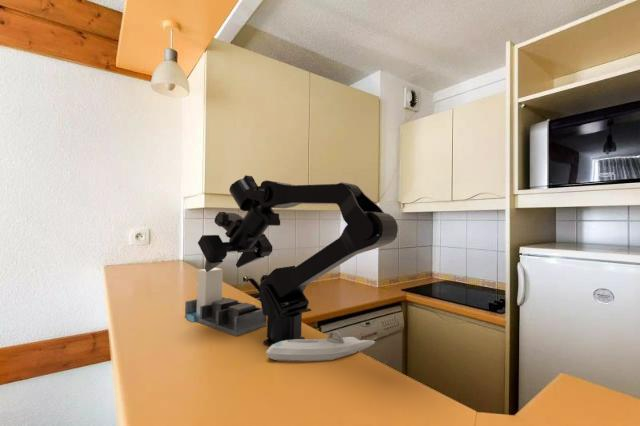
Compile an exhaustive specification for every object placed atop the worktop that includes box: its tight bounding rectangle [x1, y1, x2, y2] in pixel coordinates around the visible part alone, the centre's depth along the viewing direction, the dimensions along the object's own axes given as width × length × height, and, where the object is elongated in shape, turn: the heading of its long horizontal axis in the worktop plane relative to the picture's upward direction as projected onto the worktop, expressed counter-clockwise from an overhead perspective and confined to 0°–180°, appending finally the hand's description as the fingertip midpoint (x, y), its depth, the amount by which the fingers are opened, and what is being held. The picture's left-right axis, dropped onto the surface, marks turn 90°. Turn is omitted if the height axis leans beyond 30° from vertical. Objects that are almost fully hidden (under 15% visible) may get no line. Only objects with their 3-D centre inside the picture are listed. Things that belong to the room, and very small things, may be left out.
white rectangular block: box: [196, 267, 224, 314], centre depth 82 cm, size 4×5×11 cm
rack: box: [184, 296, 267, 337], centre depth 78 cm, size 20×10×5 cm, turn 54°
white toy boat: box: [265, 330, 376, 362], centre depth 61 cm, size 23×7×4 cm, turn 113°
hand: (222, 268), depth 79 cm, fingers open, 9 cm apart
